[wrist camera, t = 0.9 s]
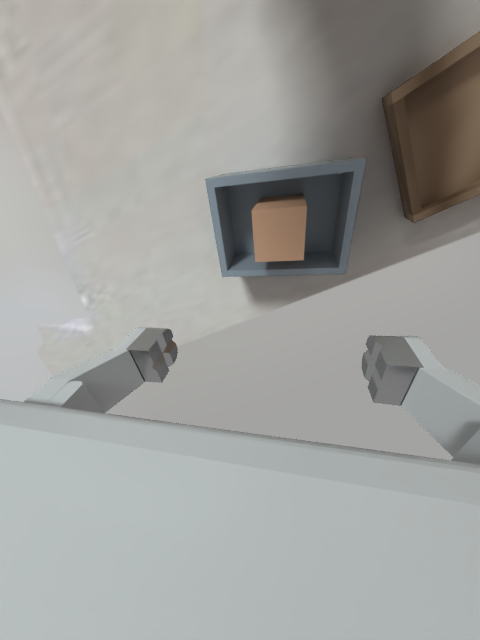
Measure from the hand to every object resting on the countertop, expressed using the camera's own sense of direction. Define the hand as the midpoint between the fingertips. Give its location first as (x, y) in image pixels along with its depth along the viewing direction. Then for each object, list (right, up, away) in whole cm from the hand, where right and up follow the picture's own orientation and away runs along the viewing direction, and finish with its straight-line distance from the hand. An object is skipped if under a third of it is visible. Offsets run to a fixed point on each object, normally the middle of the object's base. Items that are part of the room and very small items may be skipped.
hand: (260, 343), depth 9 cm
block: (+4, +14, +18) cm, 23 cm away
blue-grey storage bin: (+5, +15, +19) cm, 24 cm away
